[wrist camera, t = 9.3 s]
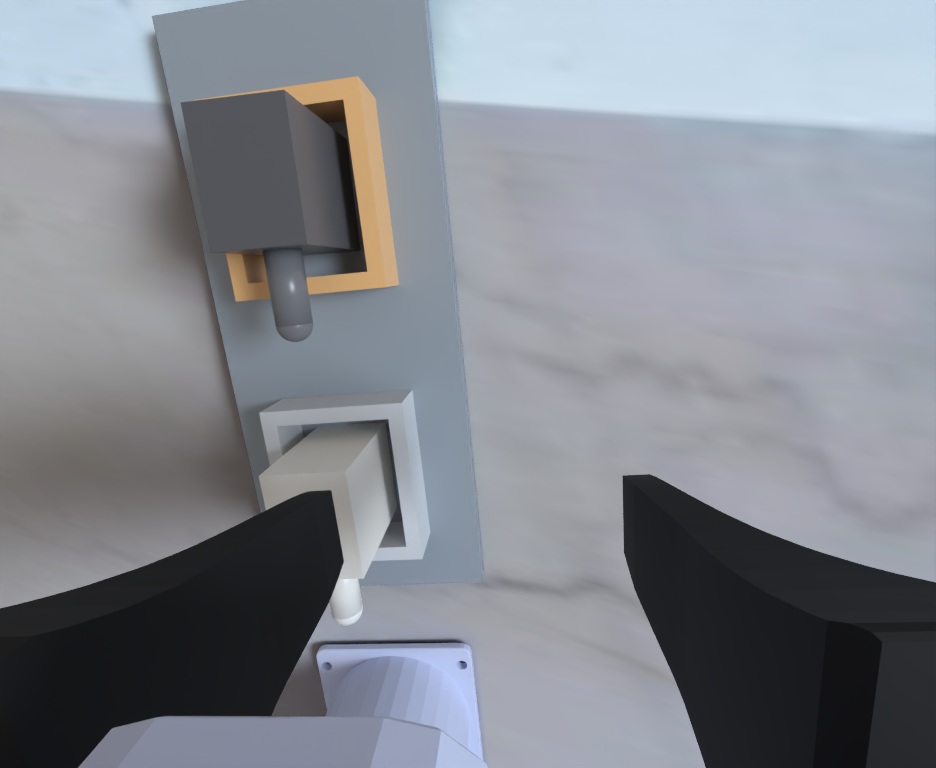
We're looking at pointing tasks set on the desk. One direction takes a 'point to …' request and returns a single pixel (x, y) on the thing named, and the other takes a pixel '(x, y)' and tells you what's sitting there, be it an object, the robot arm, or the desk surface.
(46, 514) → the desk surface
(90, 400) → the desk surface
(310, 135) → the dark gray plug
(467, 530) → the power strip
